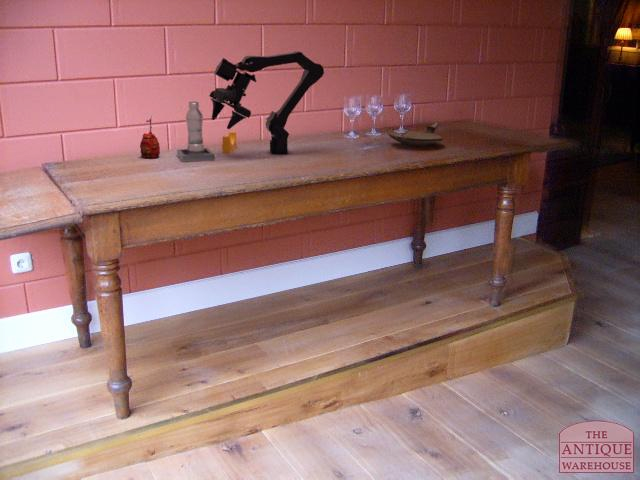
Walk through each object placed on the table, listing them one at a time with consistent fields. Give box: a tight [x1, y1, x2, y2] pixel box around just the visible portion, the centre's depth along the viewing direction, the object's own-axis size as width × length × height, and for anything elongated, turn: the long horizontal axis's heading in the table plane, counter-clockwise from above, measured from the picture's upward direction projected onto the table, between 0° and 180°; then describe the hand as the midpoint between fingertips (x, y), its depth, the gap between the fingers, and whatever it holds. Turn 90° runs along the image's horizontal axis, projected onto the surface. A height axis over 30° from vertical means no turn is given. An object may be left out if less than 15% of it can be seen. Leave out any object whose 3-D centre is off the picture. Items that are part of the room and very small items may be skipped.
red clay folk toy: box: [139, 116, 161, 159], centre depth 248 cm, size 8×7×15 cm
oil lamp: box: [387, 122, 443, 148], centre depth 279 cm, size 22×30×8 cm
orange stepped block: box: [221, 131, 237, 154], centre depth 264 cm, size 12×4×6 cm, turn 173°
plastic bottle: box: [185, 101, 206, 155], centre depth 246 cm, size 6×7×20 cm
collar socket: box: [176, 147, 216, 163], centre depth 249 cm, size 12×12×2 cm
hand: (220, 124), depth 251 cm, fingers open, 9 cm apart
